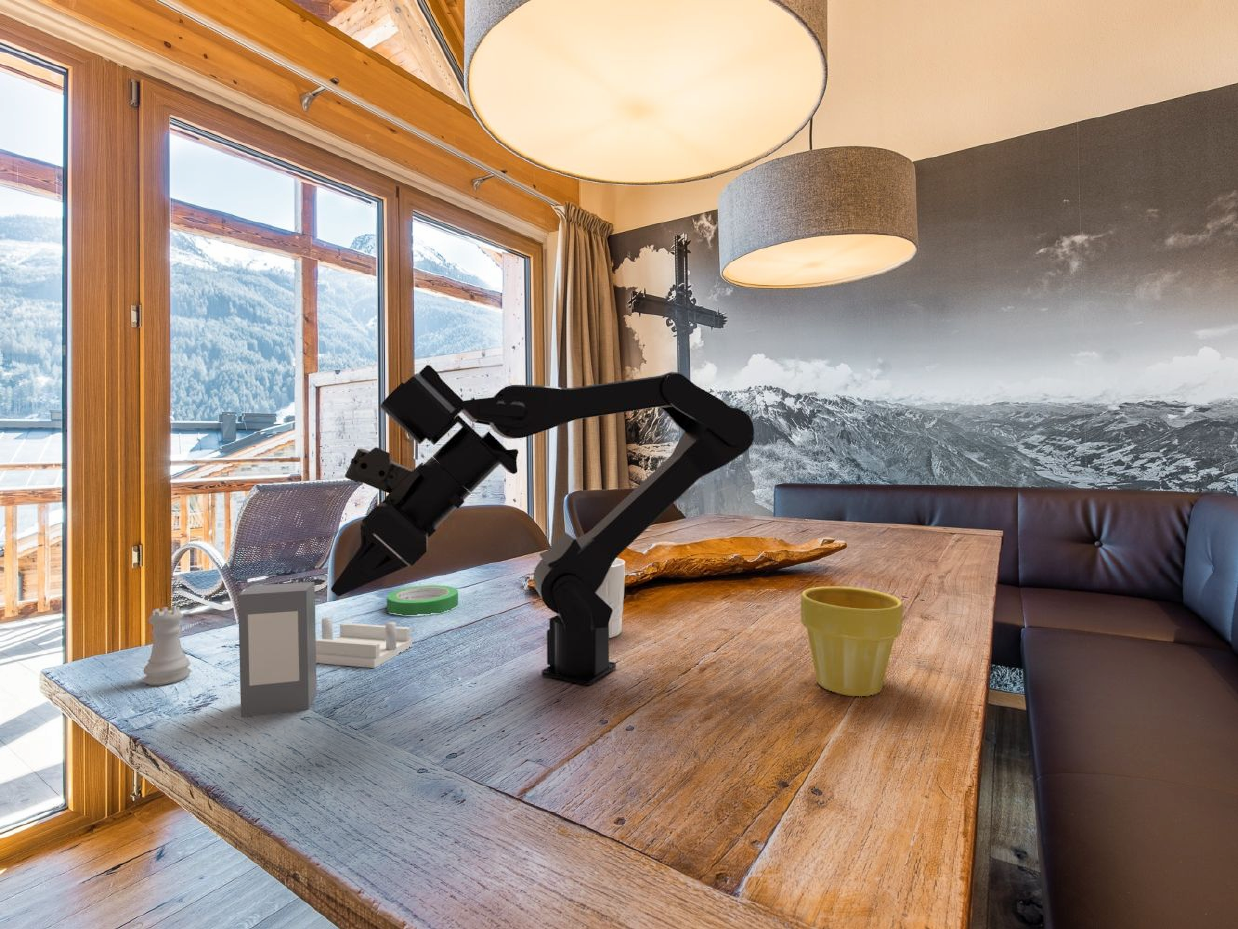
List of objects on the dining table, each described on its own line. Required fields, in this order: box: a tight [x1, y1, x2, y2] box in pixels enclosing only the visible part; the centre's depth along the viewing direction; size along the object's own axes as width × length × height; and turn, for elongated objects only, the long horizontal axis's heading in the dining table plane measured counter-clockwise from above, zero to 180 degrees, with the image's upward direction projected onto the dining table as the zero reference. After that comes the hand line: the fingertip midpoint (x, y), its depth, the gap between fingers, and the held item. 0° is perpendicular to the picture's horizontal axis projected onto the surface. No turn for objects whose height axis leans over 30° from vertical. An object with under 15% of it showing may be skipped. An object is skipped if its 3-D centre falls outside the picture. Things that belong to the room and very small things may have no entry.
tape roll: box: [386, 584, 459, 615], centre depth 100 cm, size 11×11×3 cm
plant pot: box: [800, 586, 904, 698], centre depth 67 cm, size 10×10×10 cm
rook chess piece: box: [142, 605, 192, 687], centre depth 69 cm, size 4×4×8 cm
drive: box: [237, 581, 318, 718], centre depth 62 cm, size 6×4×12 cm, turn 106°
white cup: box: [596, 557, 626, 639], centre depth 86 cm, size 8×8×10 cm
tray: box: [316, 616, 413, 669], centre depth 77 cm, size 10×8×4 cm
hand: (342, 582), depth 64 cm, fingers open, 9 cm apart
